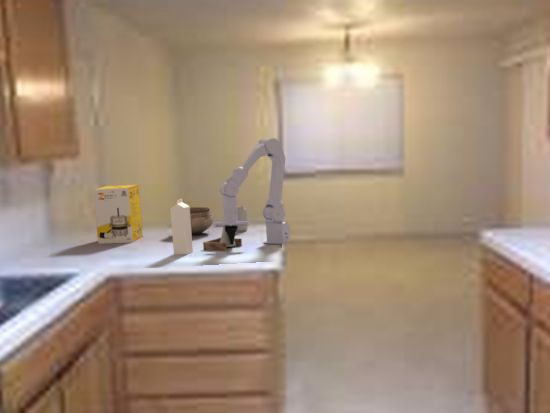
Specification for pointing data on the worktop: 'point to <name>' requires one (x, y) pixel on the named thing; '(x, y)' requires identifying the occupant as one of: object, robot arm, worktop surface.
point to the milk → (181, 228)
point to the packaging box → (118, 214)
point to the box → (219, 244)
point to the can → (241, 217)
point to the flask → (226, 239)
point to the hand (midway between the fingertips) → (232, 244)
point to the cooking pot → (200, 219)
